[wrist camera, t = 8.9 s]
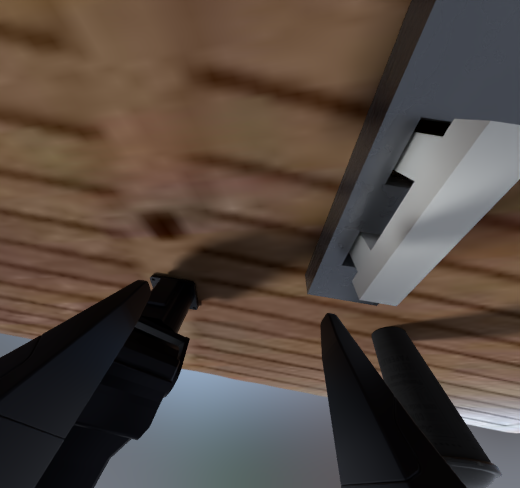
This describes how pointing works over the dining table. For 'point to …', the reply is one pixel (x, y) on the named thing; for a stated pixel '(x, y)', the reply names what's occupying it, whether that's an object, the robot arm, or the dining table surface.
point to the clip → (436, 204)
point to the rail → (418, 117)
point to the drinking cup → (431, 407)
